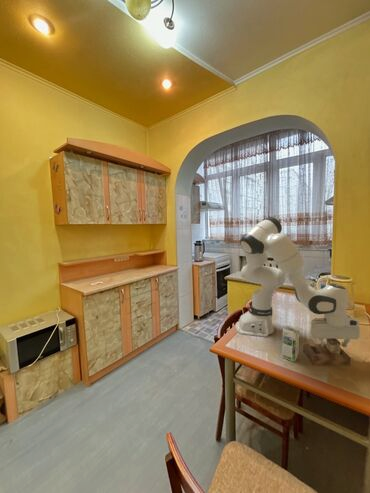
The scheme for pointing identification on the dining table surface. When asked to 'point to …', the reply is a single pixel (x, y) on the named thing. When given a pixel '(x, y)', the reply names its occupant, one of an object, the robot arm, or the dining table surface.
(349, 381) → the dining table surface
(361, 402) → the dining table surface
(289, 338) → the syrup box
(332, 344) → the oak peg
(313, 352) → the socket block
